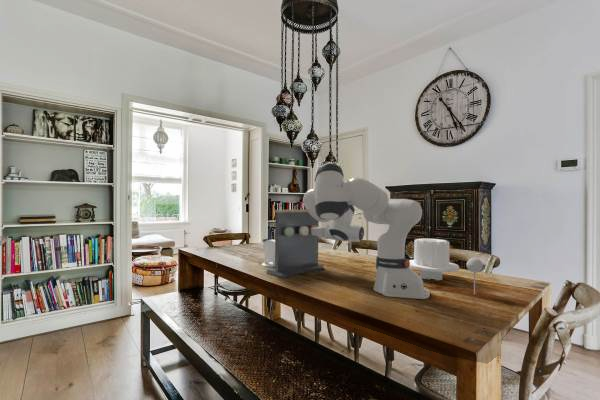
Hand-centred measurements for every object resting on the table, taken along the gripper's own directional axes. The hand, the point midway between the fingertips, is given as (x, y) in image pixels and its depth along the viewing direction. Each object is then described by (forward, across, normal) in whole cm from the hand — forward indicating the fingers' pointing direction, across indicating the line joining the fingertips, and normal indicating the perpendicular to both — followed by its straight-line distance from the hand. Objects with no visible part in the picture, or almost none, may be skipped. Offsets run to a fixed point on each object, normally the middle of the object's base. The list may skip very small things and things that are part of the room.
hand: (315, 229), depth 171 cm
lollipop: (-77, -10, +22) cm, 81 cm away
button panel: (+4, +10, +22) cm, 24 cm away
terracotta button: (+1, 0, +2) cm, 3 cm away
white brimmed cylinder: (-53, -28, +22) cm, 64 cm away
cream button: (0, +10, +2) cm, 10 cm away
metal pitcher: (+26, +8, +22) cm, 36 cm away
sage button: (+2, +20, +2) cm, 20 cm away
